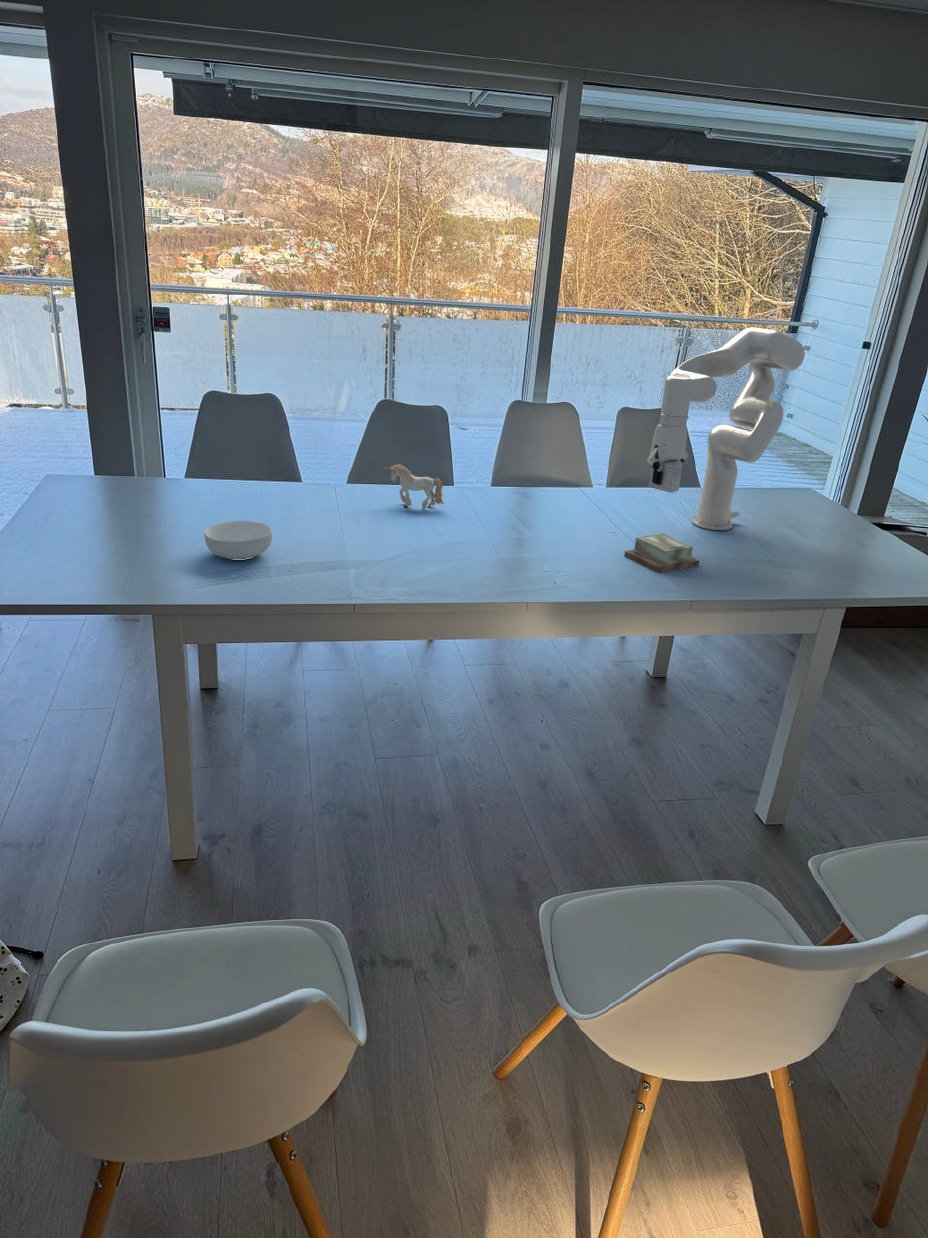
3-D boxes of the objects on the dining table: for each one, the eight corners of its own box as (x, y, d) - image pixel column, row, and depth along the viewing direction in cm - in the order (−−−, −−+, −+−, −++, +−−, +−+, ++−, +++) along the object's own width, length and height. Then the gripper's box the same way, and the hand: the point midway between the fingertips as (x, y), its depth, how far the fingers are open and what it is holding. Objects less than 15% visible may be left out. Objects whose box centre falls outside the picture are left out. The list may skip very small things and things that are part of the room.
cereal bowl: (250, 541, 241) (249, 516, 239) (285, 558, 231) (284, 532, 228) (193, 553, 230) (191, 527, 227) (227, 572, 220) (226, 545, 217)
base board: (663, 549, 257) (667, 530, 254) (698, 565, 246) (702, 546, 243) (624, 556, 249) (627, 536, 247) (658, 572, 238) (661, 552, 236)
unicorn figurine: (380, 503, 281) (381, 461, 276) (440, 503, 285) (442, 462, 279) (382, 509, 275) (383, 467, 269) (444, 510, 278) (446, 468, 273)
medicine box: (679, 490, 258) (683, 461, 255) (670, 493, 255) (675, 464, 252) (656, 484, 263) (660, 455, 259) (647, 487, 260) (651, 458, 256)
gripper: (686, 415, 258) (677, 476, 265) (641, 419, 249) (633, 482, 257) (704, 421, 252) (694, 482, 260) (659, 425, 244) (650, 489, 251)
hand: (664, 482), depth 258 cm, fingers closed on medicine box, 5 cm apart
